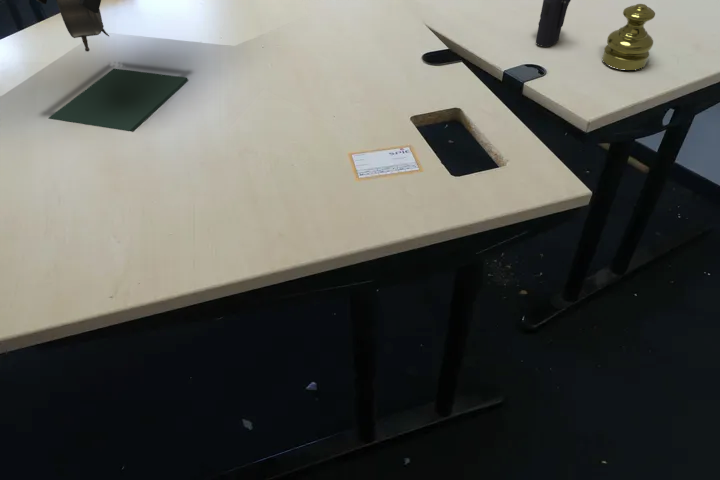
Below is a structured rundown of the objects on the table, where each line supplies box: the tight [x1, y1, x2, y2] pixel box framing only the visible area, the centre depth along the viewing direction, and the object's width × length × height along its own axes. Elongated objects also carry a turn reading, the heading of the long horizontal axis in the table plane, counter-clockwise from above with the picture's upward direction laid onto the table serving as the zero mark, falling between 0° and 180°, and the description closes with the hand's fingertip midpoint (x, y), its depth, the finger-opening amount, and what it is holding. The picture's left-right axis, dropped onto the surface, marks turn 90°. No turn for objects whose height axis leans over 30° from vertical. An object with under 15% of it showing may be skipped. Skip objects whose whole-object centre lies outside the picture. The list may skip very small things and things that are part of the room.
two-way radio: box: [535, 0, 572, 47], centre depth 97 cm, size 6×4×15 cm
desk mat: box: [48, 68, 189, 133], centre depth 93 cm, size 16×18×1 cm
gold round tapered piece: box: [601, 3, 656, 71], centre depth 92 cm, size 7×7×10 cm
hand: (61, 4), depth 77 cm, fingers closed on alarm clock, 10 cm apart
